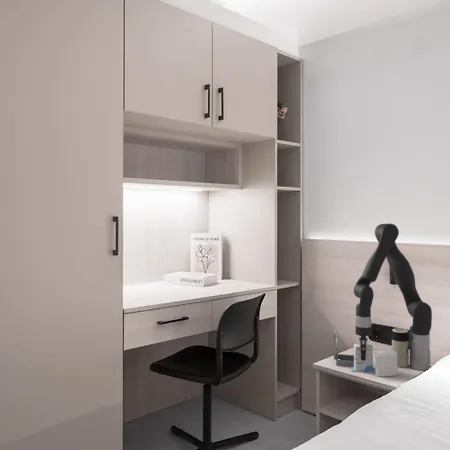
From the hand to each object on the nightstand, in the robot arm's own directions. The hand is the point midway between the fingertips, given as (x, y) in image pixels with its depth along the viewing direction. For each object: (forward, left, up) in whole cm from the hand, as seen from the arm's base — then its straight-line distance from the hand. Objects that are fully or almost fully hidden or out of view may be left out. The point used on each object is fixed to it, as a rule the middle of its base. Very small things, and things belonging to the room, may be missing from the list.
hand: (363, 357), depth 234 cm
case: (+6, -9, -6) cm, 12 cm away
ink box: (0, 0, -6) cm, 6 cm away
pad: (0, 0, -6) cm, 6 cm away
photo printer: (-10, +5, -6) cm, 13 cm away
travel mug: (-18, -12, -6) cm, 23 cm away
